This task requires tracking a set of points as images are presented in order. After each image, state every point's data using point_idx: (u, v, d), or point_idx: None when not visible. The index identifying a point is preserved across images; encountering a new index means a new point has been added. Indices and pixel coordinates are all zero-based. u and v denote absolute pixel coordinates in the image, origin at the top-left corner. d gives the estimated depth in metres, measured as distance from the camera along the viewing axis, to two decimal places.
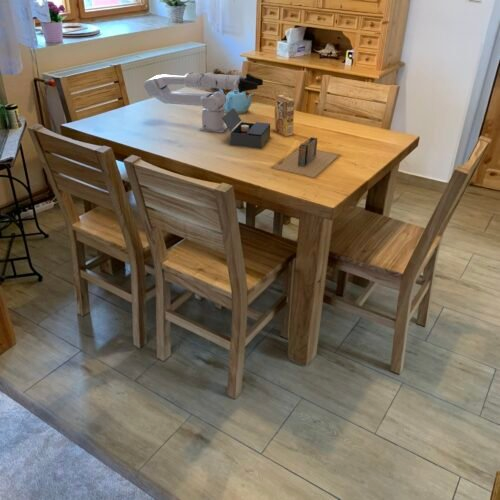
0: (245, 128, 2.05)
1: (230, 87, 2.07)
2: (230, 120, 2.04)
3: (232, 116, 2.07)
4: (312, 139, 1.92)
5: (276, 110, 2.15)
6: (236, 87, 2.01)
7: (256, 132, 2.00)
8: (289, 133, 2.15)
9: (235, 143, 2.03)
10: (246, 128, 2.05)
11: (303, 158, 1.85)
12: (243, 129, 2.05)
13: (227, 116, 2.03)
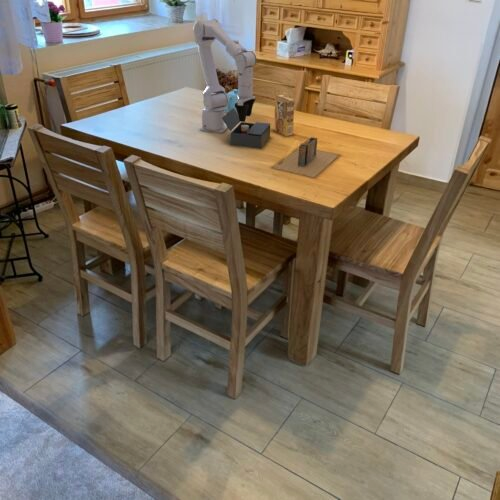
0: (245, 128, 2.05)
1: (239, 89, 1.96)
2: (230, 120, 2.04)
3: (232, 116, 2.07)
4: (312, 139, 1.92)
5: (276, 110, 2.15)
6: (239, 104, 1.94)
7: (256, 132, 2.00)
8: (289, 133, 2.15)
9: (235, 143, 2.03)
10: (246, 128, 2.05)
11: (303, 158, 1.85)
12: (243, 129, 2.05)
13: (227, 116, 2.03)
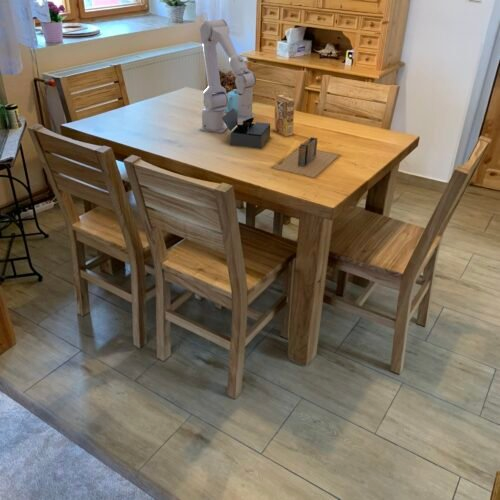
0: None
1: (239, 109, 2.00)
2: (230, 120, 2.04)
3: (232, 116, 2.07)
4: (312, 139, 1.92)
5: (276, 110, 2.15)
6: (239, 123, 1.98)
7: (256, 132, 2.00)
8: (289, 133, 2.15)
9: (235, 143, 2.03)
10: None
11: (303, 158, 1.85)
12: None
13: (227, 116, 2.03)
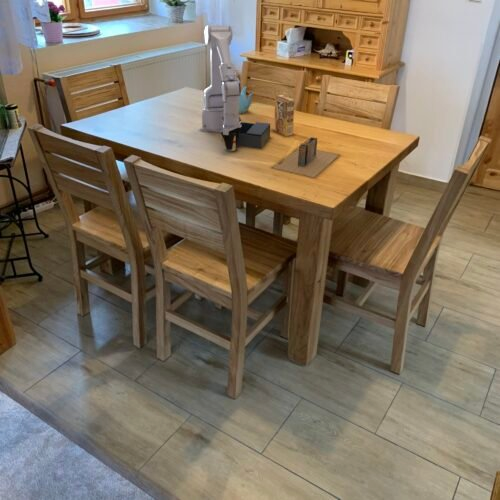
0: None
1: (225, 118, 1.91)
2: None
3: None
4: (312, 139, 1.92)
5: (276, 110, 2.15)
6: (224, 133, 1.89)
7: (256, 132, 2.00)
8: (289, 133, 2.15)
9: None
10: None
11: (303, 158, 1.85)
12: None
13: None
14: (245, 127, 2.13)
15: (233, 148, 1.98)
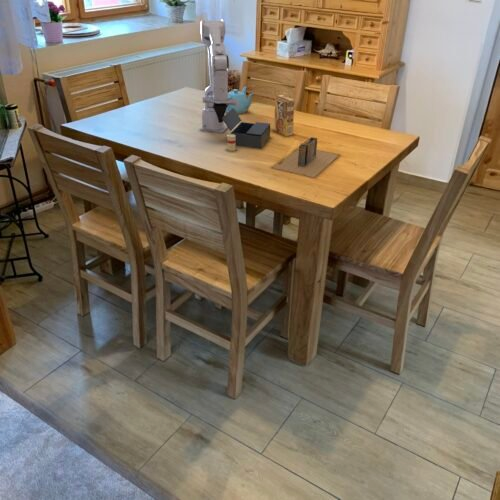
0: (232, 137, 1.95)
1: None
2: (230, 120, 2.04)
3: (232, 116, 2.07)
4: (312, 139, 1.92)
5: (276, 110, 2.15)
6: None
7: (256, 132, 2.00)
8: (289, 133, 2.15)
9: None
10: (233, 138, 1.96)
11: (303, 158, 1.85)
12: (229, 139, 1.96)
13: (227, 116, 2.03)
14: (245, 127, 2.13)
15: (233, 148, 1.98)
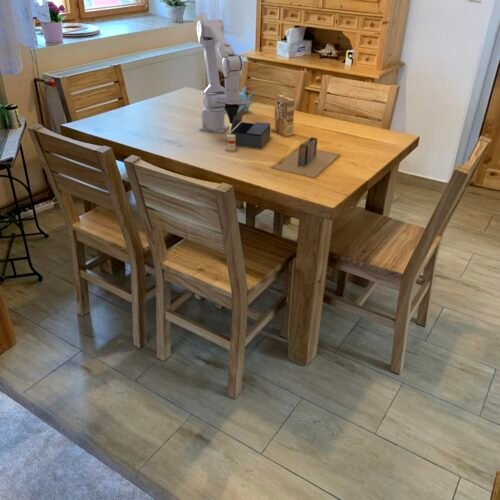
0: (232, 137, 1.95)
1: None
2: (236, 120, 2.03)
3: (239, 116, 2.06)
4: (312, 139, 1.92)
5: (276, 110, 2.15)
6: None
7: (256, 132, 2.00)
8: (289, 133, 2.15)
9: None
10: (233, 138, 1.96)
11: (303, 158, 1.85)
12: (229, 139, 1.96)
13: (237, 115, 2.02)
14: (245, 127, 2.13)
15: (233, 148, 1.98)
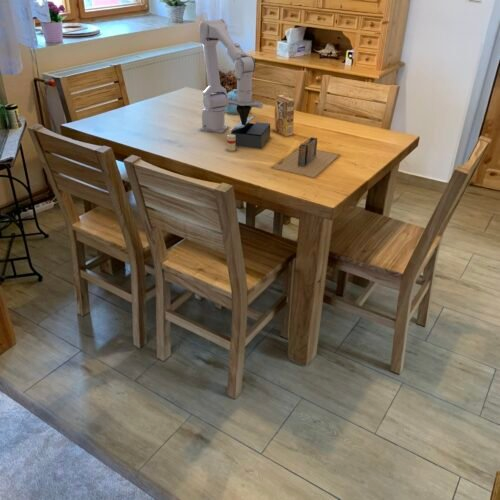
0: (232, 137, 1.95)
1: None
2: None
3: None
4: (312, 139, 1.92)
5: (276, 110, 2.15)
6: None
7: (256, 132, 2.00)
8: (289, 133, 2.15)
9: None
10: (233, 138, 1.96)
11: (303, 158, 1.85)
12: (229, 139, 1.96)
13: None
14: (245, 127, 2.13)
15: (233, 148, 1.98)
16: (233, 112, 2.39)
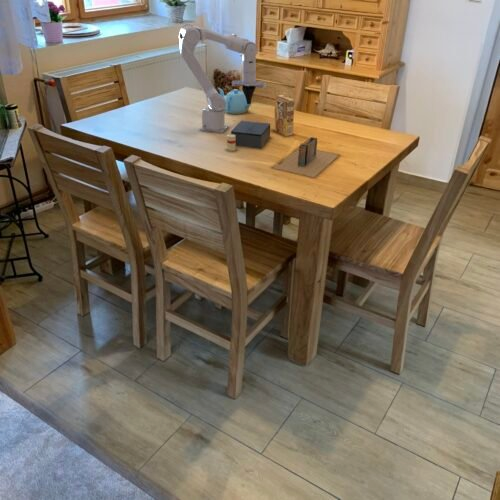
0: (232, 137, 1.95)
1: None
2: None
3: None
4: (312, 139, 1.92)
5: (276, 110, 2.15)
6: None
7: (256, 132, 2.00)
8: (289, 133, 2.15)
9: None
10: (233, 138, 1.96)
11: (303, 158, 1.85)
12: (229, 139, 1.96)
13: None
14: None
15: (233, 148, 1.98)
16: (233, 112, 2.39)
